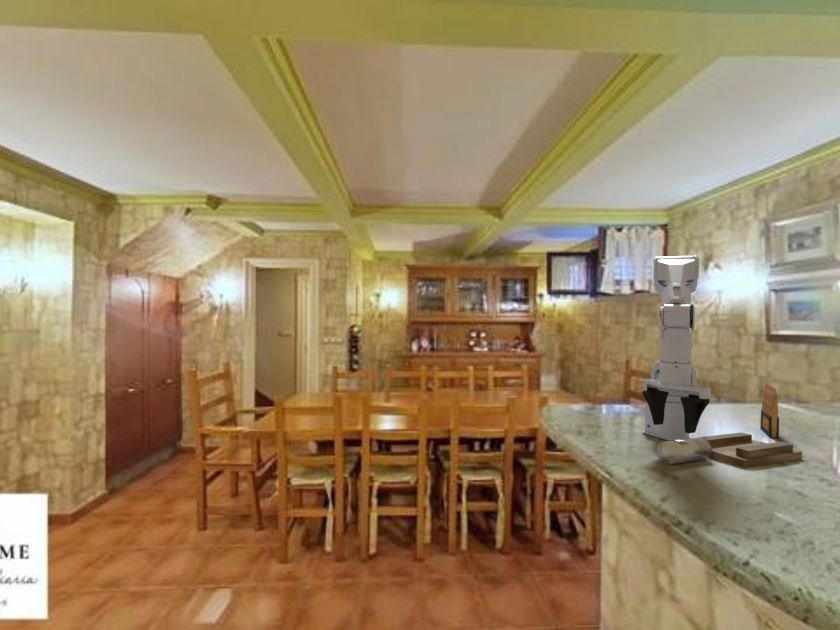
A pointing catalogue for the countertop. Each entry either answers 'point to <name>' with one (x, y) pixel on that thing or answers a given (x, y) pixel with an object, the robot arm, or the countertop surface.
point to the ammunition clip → (770, 413)
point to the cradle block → (749, 450)
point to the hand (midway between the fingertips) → (673, 428)
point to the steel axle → (683, 450)
